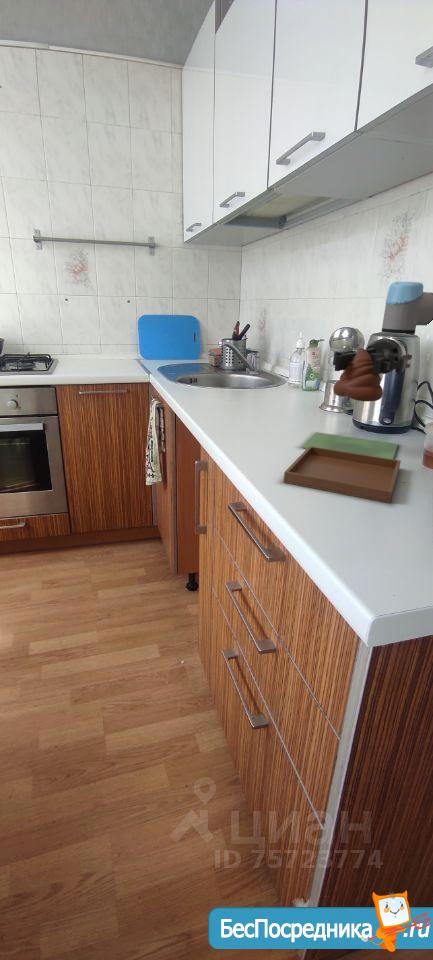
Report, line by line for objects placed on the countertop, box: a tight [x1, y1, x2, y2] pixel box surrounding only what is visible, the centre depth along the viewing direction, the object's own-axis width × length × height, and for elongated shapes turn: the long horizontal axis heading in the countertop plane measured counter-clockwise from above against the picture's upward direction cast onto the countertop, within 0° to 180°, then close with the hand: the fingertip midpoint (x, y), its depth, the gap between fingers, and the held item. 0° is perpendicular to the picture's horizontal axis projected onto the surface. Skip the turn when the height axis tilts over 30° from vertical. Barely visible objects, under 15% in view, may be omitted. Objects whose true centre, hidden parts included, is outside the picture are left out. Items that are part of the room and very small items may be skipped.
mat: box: [301, 432, 399, 459], centre depth 100 cm, size 18×13×1 cm
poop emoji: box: [332, 347, 384, 402], centre depth 91 cm, size 10×8×9 cm
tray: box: [283, 446, 402, 504], centre depth 83 cm, size 17×17×2 cm
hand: (356, 365), depth 86 cm, fingers closed on poop emoji, 6 cm apart
